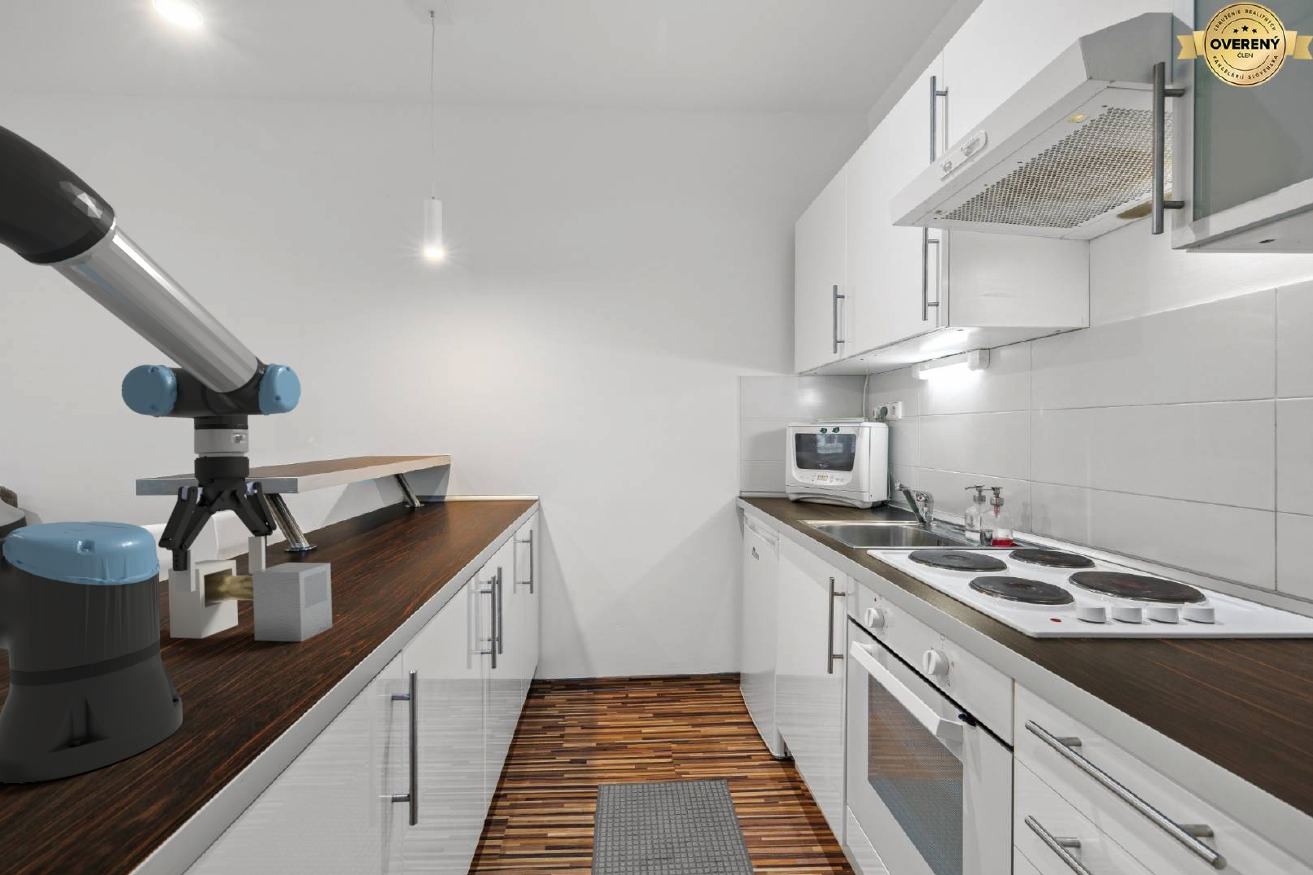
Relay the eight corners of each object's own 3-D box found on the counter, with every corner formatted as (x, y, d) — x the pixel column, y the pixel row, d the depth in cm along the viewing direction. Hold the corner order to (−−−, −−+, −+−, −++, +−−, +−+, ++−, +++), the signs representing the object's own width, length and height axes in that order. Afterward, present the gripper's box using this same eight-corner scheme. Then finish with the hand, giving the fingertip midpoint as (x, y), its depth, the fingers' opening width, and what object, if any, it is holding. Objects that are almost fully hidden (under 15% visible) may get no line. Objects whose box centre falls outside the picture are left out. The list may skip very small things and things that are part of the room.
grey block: (332, 627, 102) (330, 562, 102) (301, 641, 95) (299, 572, 95) (288, 626, 103) (286, 562, 103) (254, 640, 97) (252, 572, 97)
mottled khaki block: (287, 596, 102) (286, 573, 102) (268, 603, 98) (267, 579, 98) (216, 595, 104) (215, 572, 104) (194, 602, 100) (194, 578, 100)
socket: (238, 624, 105) (235, 560, 105) (201, 638, 98) (199, 569, 98) (208, 623, 106) (206, 559, 106) (170, 637, 99) (168, 568, 99)
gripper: (169, 455, 88) (171, 600, 88) (297, 454, 113) (299, 566, 113) (127, 457, 90) (128, 599, 89) (262, 455, 114) (264, 566, 114)
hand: (223, 581), depth 101 cm, fingers open, 13 cm apart
